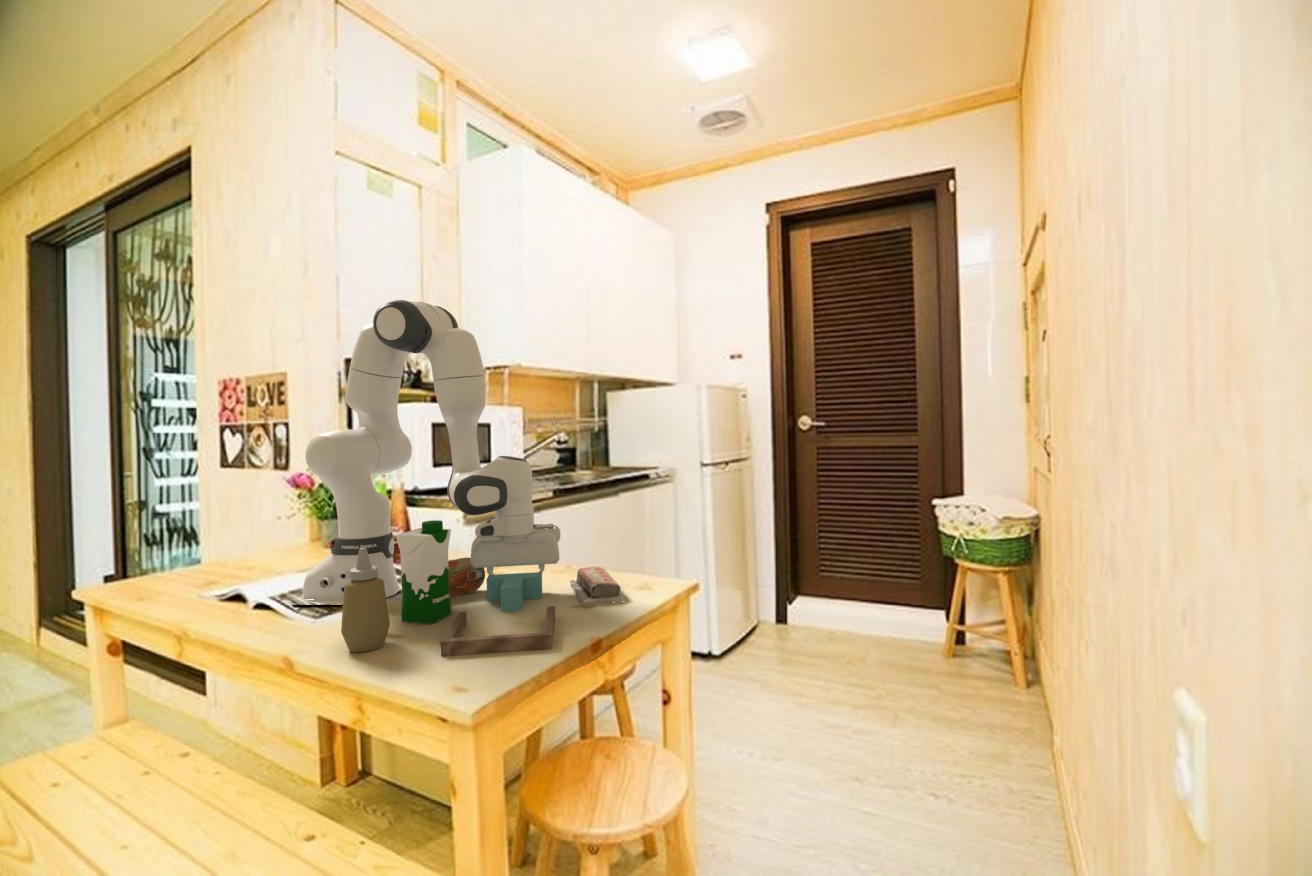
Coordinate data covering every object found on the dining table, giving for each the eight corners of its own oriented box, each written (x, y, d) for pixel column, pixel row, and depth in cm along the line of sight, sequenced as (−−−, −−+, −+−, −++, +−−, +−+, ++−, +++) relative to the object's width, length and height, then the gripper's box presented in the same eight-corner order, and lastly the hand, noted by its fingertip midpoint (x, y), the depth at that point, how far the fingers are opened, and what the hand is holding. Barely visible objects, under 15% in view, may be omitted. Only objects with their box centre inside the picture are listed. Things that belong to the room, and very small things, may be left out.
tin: (418, 602, 138) (417, 565, 138) (416, 598, 141) (415, 562, 141) (486, 591, 146) (484, 556, 145) (482, 588, 148) (481, 553, 148)
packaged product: (568, 567, 149) (608, 563, 152) (569, 587, 149) (609, 582, 153) (583, 586, 132) (627, 582, 135) (583, 609, 132) (628, 603, 135)
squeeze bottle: (372, 656, 107) (368, 554, 106) (331, 654, 108) (327, 553, 107) (399, 639, 115) (396, 544, 114) (361, 637, 116) (357, 543, 115)
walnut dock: (441, 656, 106) (440, 642, 106) (458, 624, 123) (458, 611, 123) (552, 648, 109) (551, 634, 109) (555, 618, 125) (554, 606, 125)
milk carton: (431, 626, 122) (428, 526, 121) (393, 622, 124) (389, 524, 123) (458, 612, 130) (454, 518, 129) (421, 609, 133) (418, 517, 132)
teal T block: (481, 612, 130) (481, 589, 129) (489, 596, 141) (488, 574, 141) (539, 609, 131) (538, 586, 131) (542, 593, 143) (541, 572, 143)
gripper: (560, 521, 147) (561, 578, 148) (472, 524, 144) (474, 583, 145) (559, 525, 141) (561, 585, 142) (468, 529, 138) (470, 590, 139)
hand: (516, 584), depth 143 cm, fingers open, 8 cm apart
